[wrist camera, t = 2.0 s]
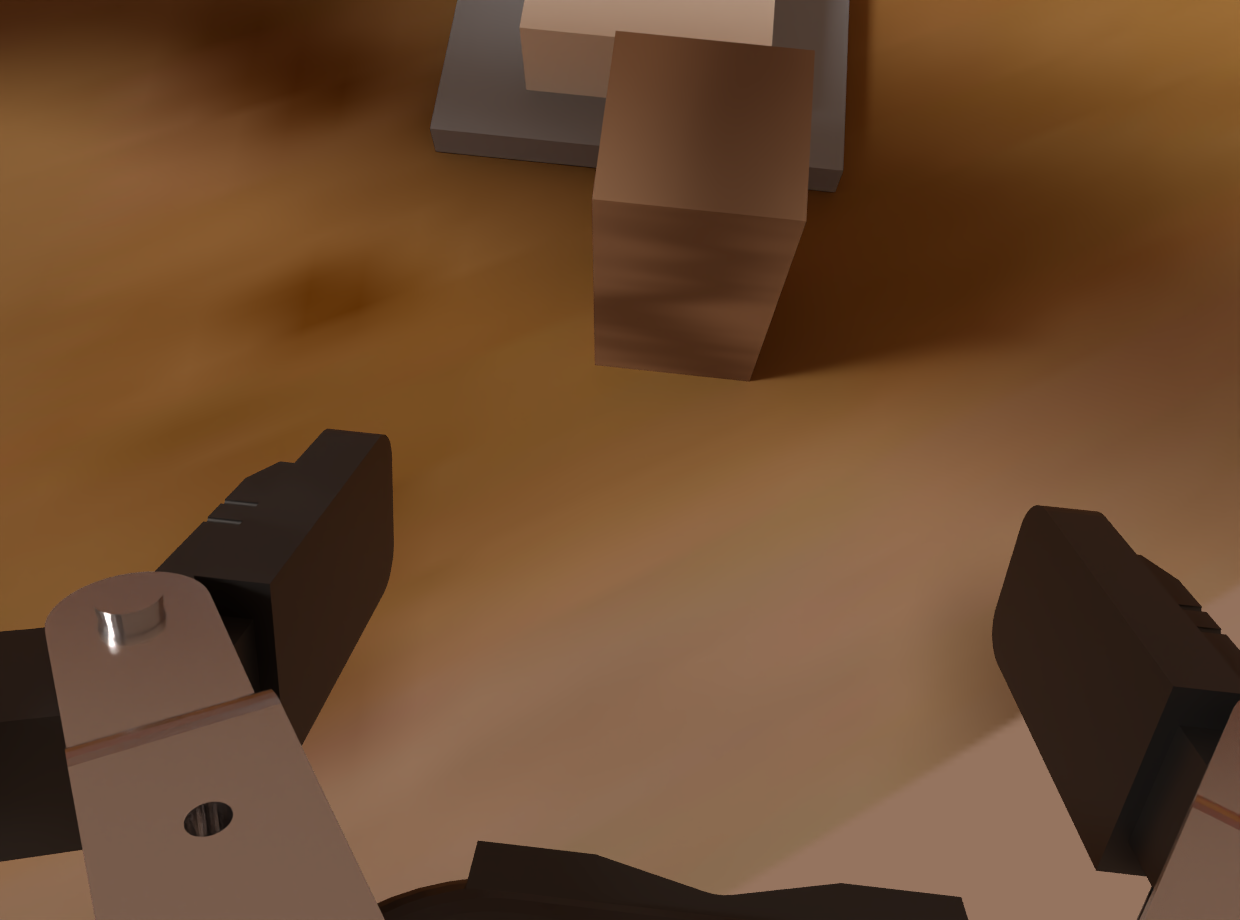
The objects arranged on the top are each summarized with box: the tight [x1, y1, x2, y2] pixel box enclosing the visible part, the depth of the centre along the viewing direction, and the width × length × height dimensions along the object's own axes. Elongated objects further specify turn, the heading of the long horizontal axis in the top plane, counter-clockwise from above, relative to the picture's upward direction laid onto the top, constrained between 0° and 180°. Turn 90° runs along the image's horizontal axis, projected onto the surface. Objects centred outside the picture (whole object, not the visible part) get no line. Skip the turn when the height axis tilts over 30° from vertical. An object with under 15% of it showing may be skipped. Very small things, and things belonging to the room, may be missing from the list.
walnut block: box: [592, 31, 815, 381], centre depth 27 cm, size 5×5×9 cm
